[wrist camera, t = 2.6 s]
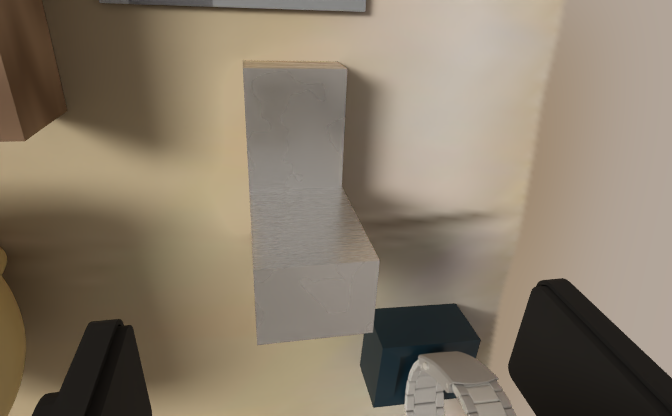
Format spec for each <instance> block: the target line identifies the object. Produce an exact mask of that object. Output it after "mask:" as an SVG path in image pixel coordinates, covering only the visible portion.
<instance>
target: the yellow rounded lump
mask: <svg viewBox="0 0 672 416" xmlns="http://www.w3.org/2000/svg"><path fill="white" fill-rule="evenodd" d="M6 264H7V255H6V253H5V251H4V250H3V249H2V248H1V247H0V416H8V414H9V412H10V410H11V408H12V406H13V403H14V401H15V398H16V396H17V393H18V390H19V387H20V384H21V380H22V376H23V371H24V365H25V357H26V336H25V328H24V323H23V319H22V316H21V312H20V310H19V307H18V304H17V302H16V300H15V298H14V295H13V293H12V291H11V290H10V288H9V286H8V284H7V283H6V281H5V280H4V278H3V277H2V274H3V272H4V269H5V267H6Z"/></svg>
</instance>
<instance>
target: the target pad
mask: <svg viewBox="0 0 672 416" xmlns="http://www.w3.org/2000/svg"><path fill="white" fill-rule="evenodd" d="M99 3H118V4H148V5H178V6H207V7H237V8H267V9H297V10H327V11H357V12H365V9H366V0H99Z"/></svg>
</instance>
